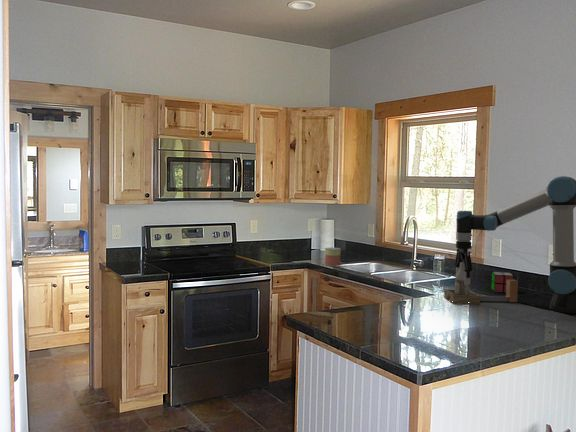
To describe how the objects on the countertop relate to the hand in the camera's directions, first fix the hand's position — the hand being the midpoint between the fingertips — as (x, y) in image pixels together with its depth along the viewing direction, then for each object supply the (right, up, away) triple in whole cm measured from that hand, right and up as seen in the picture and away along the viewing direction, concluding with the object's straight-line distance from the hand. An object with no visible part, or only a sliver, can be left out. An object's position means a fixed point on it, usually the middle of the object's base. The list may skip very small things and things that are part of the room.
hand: (462, 281), depth 284 cm
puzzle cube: (+32, -9, +30) cm, 45 cm away
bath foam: (0, -10, +1) cm, 10 cm away
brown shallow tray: (0, -10, +1) cm, 10 cm away
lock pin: (+17, -10, +1) cm, 19 cm away
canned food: (-58, -2, +117) cm, 130 cm away
